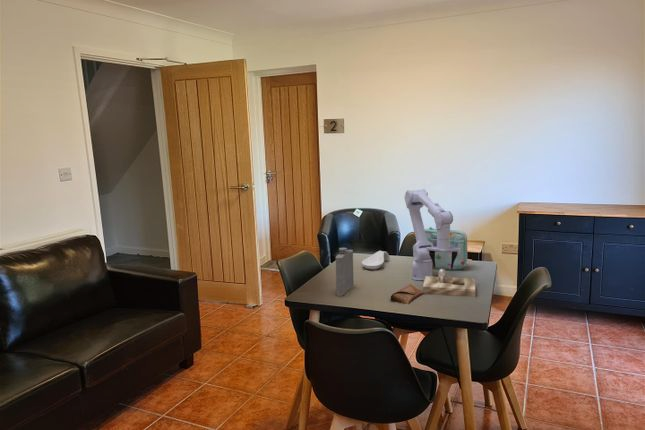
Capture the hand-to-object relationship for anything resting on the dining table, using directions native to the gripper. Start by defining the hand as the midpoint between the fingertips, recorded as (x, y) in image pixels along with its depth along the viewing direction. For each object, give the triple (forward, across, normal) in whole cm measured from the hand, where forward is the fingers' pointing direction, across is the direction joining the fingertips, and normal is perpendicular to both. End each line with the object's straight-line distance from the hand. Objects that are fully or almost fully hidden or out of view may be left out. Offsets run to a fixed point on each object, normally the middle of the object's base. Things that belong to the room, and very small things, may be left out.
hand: (443, 267), depth 206 cm
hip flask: (+10, -43, -14) cm, 46 cm away
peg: (+9, 0, -2) cm, 10 cm away
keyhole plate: (+9, +3, -2) cm, 10 cm away
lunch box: (+10, -3, +34) cm, 36 cm away
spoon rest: (+10, -36, +32) cm, 50 cm away
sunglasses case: (+10, -14, -16) cm, 23 cm away
